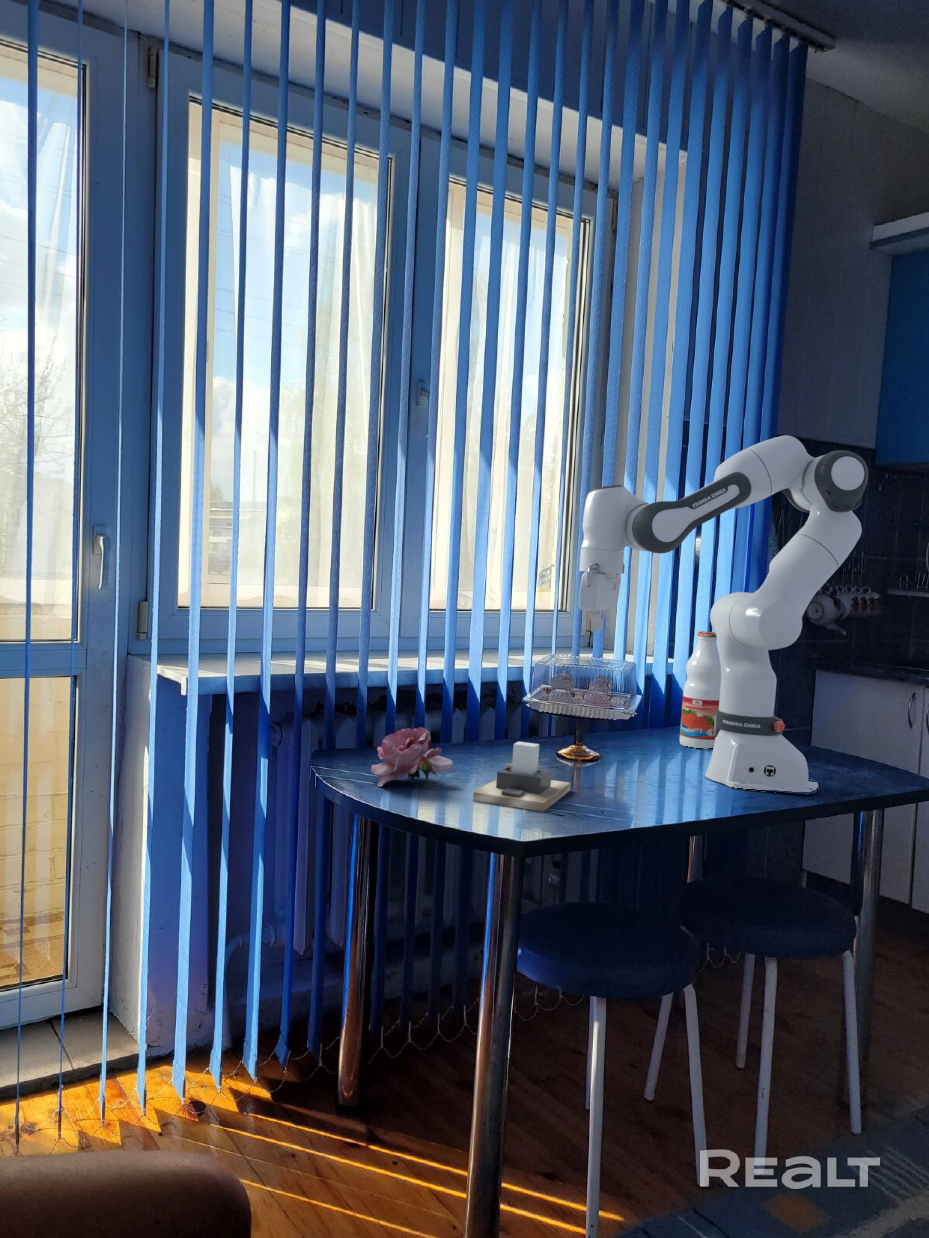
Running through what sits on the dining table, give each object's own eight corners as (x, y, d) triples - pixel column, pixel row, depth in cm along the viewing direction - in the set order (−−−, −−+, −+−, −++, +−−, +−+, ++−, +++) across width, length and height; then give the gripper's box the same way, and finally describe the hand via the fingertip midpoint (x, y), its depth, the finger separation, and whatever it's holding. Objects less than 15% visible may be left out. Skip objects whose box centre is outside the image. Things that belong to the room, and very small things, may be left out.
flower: (408, 755, 199) (406, 710, 195) (465, 779, 190) (463, 732, 186) (353, 786, 188) (350, 739, 185) (410, 813, 179) (407, 764, 176)
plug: (536, 787, 185) (539, 744, 184) (531, 790, 182) (534, 746, 181) (512, 783, 186) (515, 740, 186) (507, 786, 184) (510, 743, 183)
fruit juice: (724, 746, 247) (733, 633, 245) (710, 751, 239) (719, 634, 237) (687, 740, 252) (696, 629, 250) (672, 745, 245) (682, 630, 243)
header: (550, 786, 186) (551, 770, 186) (539, 794, 179) (540, 777, 179) (508, 780, 189) (509, 764, 189) (496, 787, 182) (497, 771, 182)
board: (569, 790, 190) (570, 779, 190) (543, 811, 174) (544, 799, 173) (504, 780, 195) (505, 770, 195) (472, 800, 178) (473, 788, 178)
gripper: (605, 564, 195) (599, 635, 196) (626, 565, 214) (621, 630, 215) (573, 562, 197) (568, 632, 198) (597, 563, 216) (592, 627, 217)
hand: (596, 631), depth 207 cm, fingers closed
